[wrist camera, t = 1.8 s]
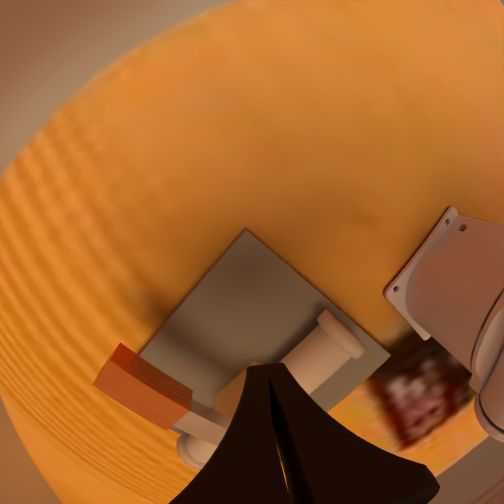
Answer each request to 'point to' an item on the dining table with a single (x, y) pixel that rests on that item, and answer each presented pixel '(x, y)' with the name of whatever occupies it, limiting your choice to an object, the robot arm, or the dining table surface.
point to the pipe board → (258, 336)
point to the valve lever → (158, 397)
